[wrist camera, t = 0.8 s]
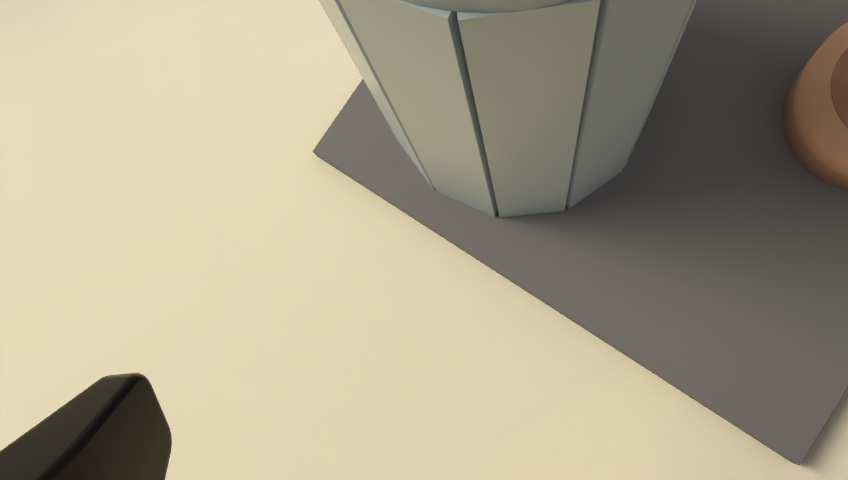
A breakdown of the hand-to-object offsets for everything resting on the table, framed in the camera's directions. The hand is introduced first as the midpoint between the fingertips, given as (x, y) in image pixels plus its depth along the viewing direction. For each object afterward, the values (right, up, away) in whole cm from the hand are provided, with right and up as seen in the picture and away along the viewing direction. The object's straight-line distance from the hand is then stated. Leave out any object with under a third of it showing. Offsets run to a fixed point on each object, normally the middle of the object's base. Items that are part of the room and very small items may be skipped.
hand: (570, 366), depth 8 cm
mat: (+5, +5, +14) cm, 15 cm away
